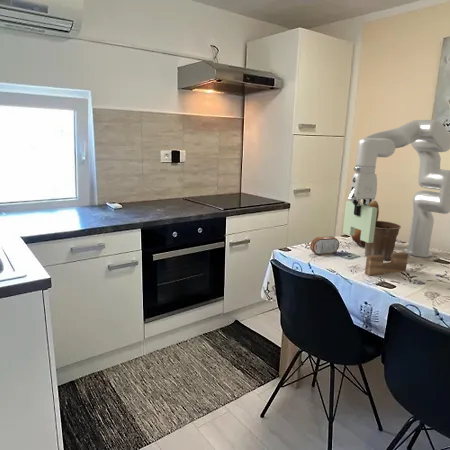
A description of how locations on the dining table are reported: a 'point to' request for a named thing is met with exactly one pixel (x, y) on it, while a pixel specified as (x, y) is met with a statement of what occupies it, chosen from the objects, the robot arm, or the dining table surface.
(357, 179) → the robot arm
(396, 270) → the walnut slotted plate
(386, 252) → the plant pot
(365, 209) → the green slotted plate
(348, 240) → the dining table surface
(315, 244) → the tin
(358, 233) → the butternut squash
